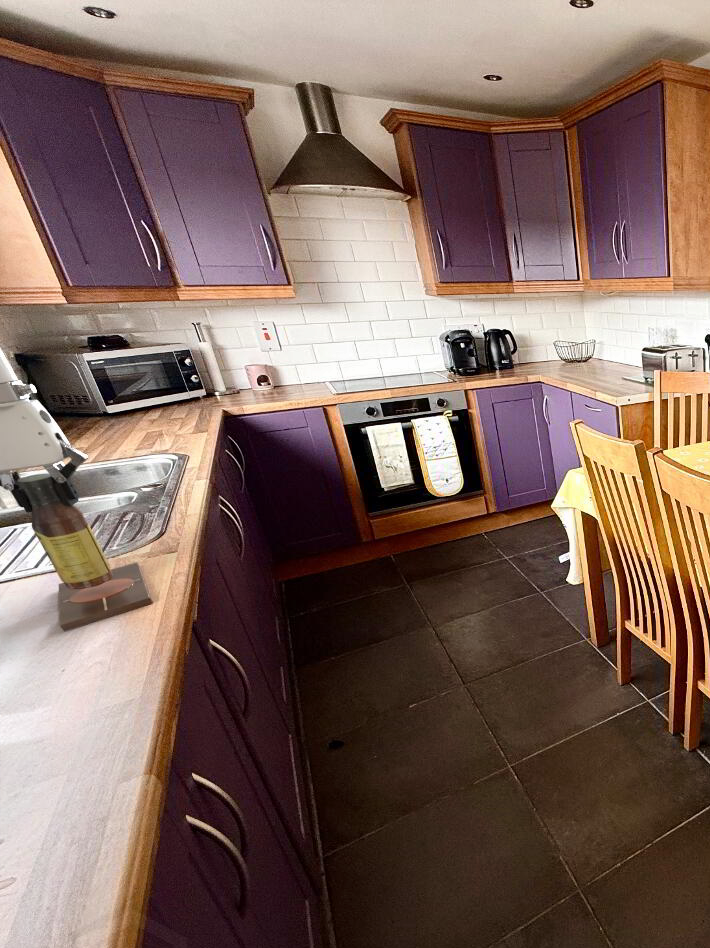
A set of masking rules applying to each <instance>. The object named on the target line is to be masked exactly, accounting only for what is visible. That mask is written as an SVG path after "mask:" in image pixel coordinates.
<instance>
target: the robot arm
mask: <svg viewBox="0 0 710 948" xmlns="http://www.w3.org/2000/svg"><path fill="white" fill-rule="evenodd" d="M18 379H19V378H18V377H17V375H16V374H15V372H14V370H13V368H12V366H11V365H10V363H9V361H8V358H7V357H6V355H5V353H4V352H3V350H2V348H1V347H0V487H1V488H3V490H4V491H5V490H6V491H8V492H9V491H10V493H11V495H12V496H13V499H14V500H15V501H16V504H18V506H19V507H20V508H23V509H24V511H25V512H26V513H27V514H29V513H32V505H31V504H30V500H29V498H28V497H27V495H26V493H25V491H24V490H23V489H22V488H21V487H20V486H19V483H18V479H20V478H22V476H21V473H20V470H26V469H32V468H40V467H42V468H43V469H45V470H46V472H47V473H49V474H50V475H51V476H52V477H53V478H54V479H55V482H56V483H55V484H54V487H55V489H56V491H57V492H58V494H59V496H60V498H61V499H62V501H63V503H64V505H65V506H72V505H74V506H75V504H77V503H78V502H79V501H80V499H79V498H80V494H79V492H78V490H77V488H76V487H75V485H74V482H73V481H72V477H73V475H74V474H75V472H76V471H77V470H78V469H79V467H81V466H82V464H84V463H85V462H86V461H88V460H89V456H88V455H87V454H86V453H84V452H82V451H81V450H79V449H77V448H76V447H74V446H72V445H71V444H70V442H69V440H68V439H67V437H66V435H65V434H64V433H63V431H62V429H61V428H60V426H59V425H58V423H57V422H56V421H55V419H54V418H53V416H51V414H50V413H49V412H48V410H47V409H46V408H45V407H44V405H42V403H41V402H40V401H39V400H38V399H29V398H30V395H31V394H36V393H37V389H36V386H35V385H33V384H32V383H31V384H25V383H23V382H22V381H21V380H18ZM69 458H70V460H69V461H68V462H67V463H66V464H64V462H63V461H64V460H66V459H69Z"/></svg>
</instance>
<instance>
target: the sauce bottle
mask: <svg viewBox="0 0 710 948" xmlns="http://www.w3.org/2000/svg"><path fill="white" fill-rule="evenodd" d="M18 483H19V486H20V487H21V488H22V489H23V490H24V491H25V493H26V495H27V497H28V498H29V500H30V504H31V505H32V512H31V529H32V530H33V532H34V534H35V536H36V537H37V539H38V541H39V543H40V544H41V546H42V548H43V550H44V552H45V554H46V556H47V558H48V559H49V561H50V562H51V564H52V566H53V568H54V570H55V571H56V574H57V575H58V578H59V579H60V580H61V582H62V583H64V584H65V585H66V587H67V588H69V589H84V588H89V587H95V586H98V585H101V584H103V583H105V582H107V581H109V580H110V579H112V577H113V574H112V571H111V569H112V567H111V565H110V563H109V561H108V559H107V557H106V555H105V553H104V551H103V549H102V547H101V546H100V543H99V541H98V540H97V538H96V536H95V534H94V532H93V530H92V528H91V526H90V524H89V522H87V520H86V518H85V516H84V514H83V512H82V511H81V510H80V508H78V507H77V506H76V505H75V504H74V505H72V506H65V505H64V503H63V501H62V499H61V498H60V496H59V494H58V492H57V491H56V489H55V487H54V484H55V483H56V482H55V479H54V478H53V477H52V476H51V475H50V474H49V473H48V472H47V473H46V472H45V473H38V474H36V473H35V474H31V475H27V476H23V477H21V478H20V479H18Z"/></svg>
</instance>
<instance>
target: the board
mask: <svg viewBox="0 0 710 948" xmlns="http://www.w3.org/2000/svg"><path fill="white" fill-rule="evenodd" d="M110 570H111V571H112V574H113V577H112V579H110V580H109V581H107V582H105V583H103V584H101V585H98V586H95V587H89V588H84V589H69V588H67V587H66V585H65V584H64V582H61V583H58V605H59V606H58V607H59V608H58V609H59V626H60V628H61V630H62V631H63V632H67V631H70V630H73V629H76V628H80V627H83V626H86V625H90V624H92V623H95V622H99V621H102V620H104V619H105V620H106V619H108V618H111V617H115V616H117V615H121V614H124V613H126V612H130V611H134V610H136V609H139V608H143V607H145V606H149V605H153V600H152V597H151V594H150V591H149V588H148V586H147V582H146V579H145V577H144V573H143V571H142V568H141V566H140V564H139V562H132V563H130V564H126V565H121V566H119V567H115V568H110Z"/></svg>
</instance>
